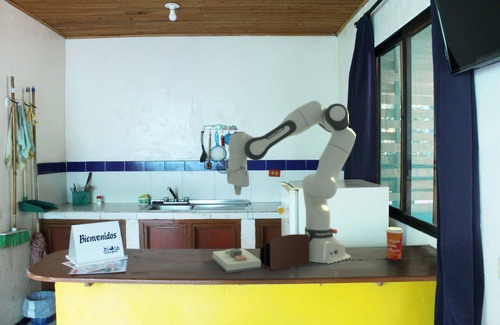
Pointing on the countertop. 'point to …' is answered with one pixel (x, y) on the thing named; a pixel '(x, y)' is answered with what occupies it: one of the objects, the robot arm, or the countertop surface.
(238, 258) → the terracotta key
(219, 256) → the cream key base
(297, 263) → the letter holder
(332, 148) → the robot arm
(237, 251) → the charcoal key
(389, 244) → the paper cup
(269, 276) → the countertop surface
